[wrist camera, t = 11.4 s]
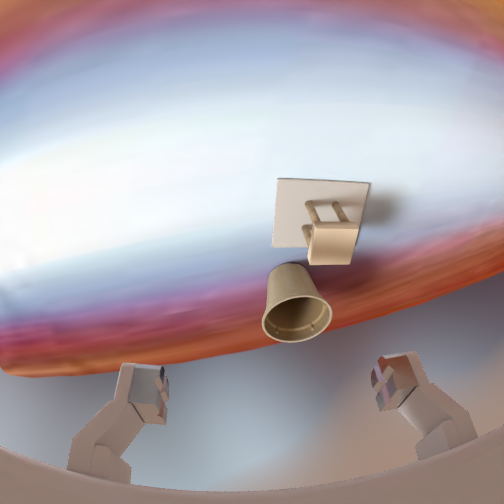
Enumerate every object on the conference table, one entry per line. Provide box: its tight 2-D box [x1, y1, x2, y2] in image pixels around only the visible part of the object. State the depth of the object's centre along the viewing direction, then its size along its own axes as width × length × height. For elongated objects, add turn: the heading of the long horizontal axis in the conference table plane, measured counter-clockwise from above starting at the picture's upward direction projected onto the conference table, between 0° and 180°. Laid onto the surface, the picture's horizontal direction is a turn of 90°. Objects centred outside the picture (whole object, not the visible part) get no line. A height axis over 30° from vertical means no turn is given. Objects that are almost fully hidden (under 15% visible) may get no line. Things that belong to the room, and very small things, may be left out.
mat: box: [272, 178, 369, 247], centre depth 41 cm, size 10×12×1 cm
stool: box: [301, 200, 359, 265], centre depth 38 cm, size 5×5×7 cm
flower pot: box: [262, 263, 332, 342], centre depth 44 cm, size 9×9×9 cm
